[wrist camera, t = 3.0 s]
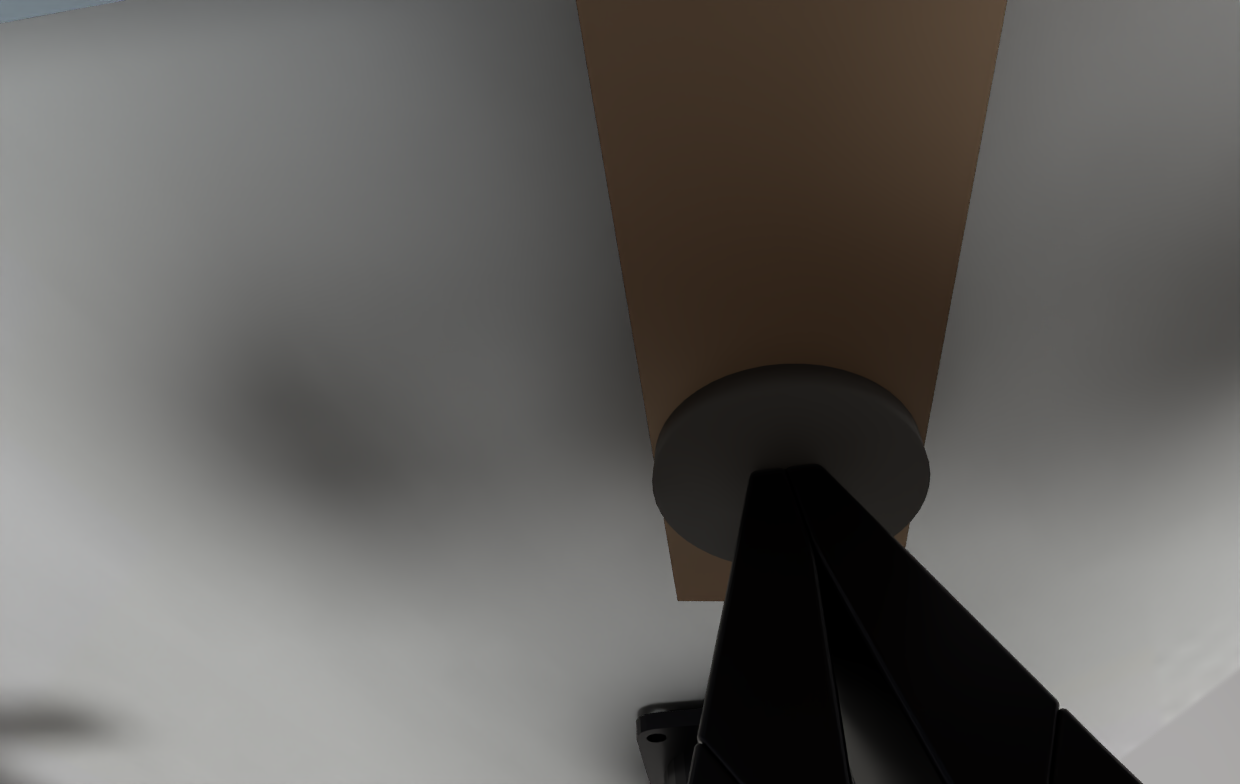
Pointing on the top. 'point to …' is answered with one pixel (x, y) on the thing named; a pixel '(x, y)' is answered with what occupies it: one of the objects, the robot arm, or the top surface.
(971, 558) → the top surface
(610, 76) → the lever
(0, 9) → the open container
